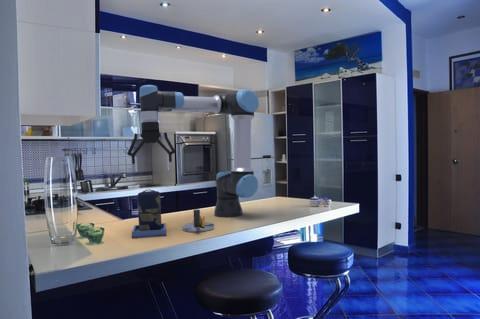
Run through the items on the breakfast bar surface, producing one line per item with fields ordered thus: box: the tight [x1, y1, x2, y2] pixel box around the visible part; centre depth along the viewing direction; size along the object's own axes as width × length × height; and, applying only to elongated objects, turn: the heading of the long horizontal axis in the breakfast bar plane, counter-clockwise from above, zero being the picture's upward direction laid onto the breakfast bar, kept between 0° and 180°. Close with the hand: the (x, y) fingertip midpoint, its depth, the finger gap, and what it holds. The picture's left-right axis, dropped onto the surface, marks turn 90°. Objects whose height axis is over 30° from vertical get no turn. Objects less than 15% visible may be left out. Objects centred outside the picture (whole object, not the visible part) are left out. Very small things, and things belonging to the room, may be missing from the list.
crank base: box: [181, 215, 215, 233], centre depth 165 cm, size 14×14×6 cm
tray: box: [131, 222, 167, 239], centre depth 159 cm, size 14×15×2 cm
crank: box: [193, 209, 201, 229], centre depth 161 cm, size 12×4×8 cm, turn 4°
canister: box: [137, 189, 162, 231], centre depth 159 cm, size 10×10×18 cm
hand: (152, 170), depth 161 cm, fingers open, 13 cm apart
